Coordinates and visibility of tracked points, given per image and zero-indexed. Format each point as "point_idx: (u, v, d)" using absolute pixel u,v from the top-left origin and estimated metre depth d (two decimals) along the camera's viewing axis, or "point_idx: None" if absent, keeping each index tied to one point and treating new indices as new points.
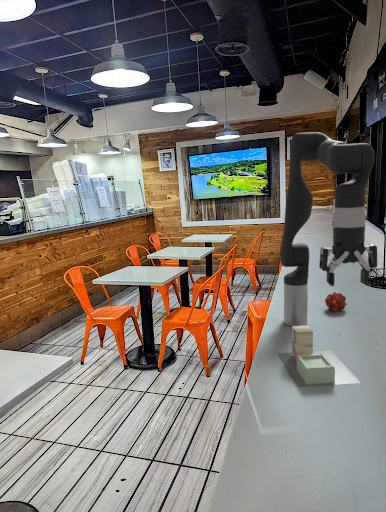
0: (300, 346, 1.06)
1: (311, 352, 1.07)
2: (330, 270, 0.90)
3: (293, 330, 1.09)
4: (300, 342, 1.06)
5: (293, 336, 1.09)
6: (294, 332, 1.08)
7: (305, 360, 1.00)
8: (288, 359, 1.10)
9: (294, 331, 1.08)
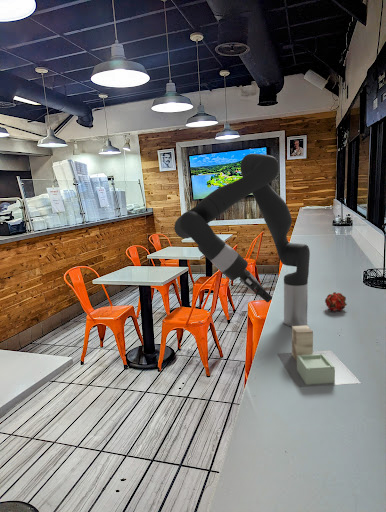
0: (300, 346, 1.06)
1: (311, 352, 1.07)
2: None
3: (293, 330, 1.09)
4: (300, 342, 1.06)
5: (293, 336, 1.09)
6: (294, 332, 1.08)
7: (305, 360, 1.00)
8: (288, 359, 1.10)
9: (294, 331, 1.08)
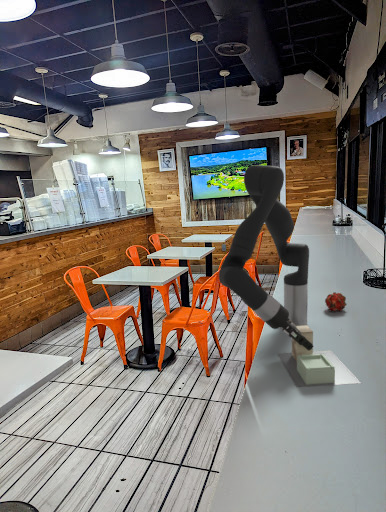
0: (300, 346, 1.06)
1: (311, 352, 1.07)
2: None
3: None
4: None
5: None
6: None
7: (305, 360, 1.00)
8: (288, 359, 1.10)
9: None
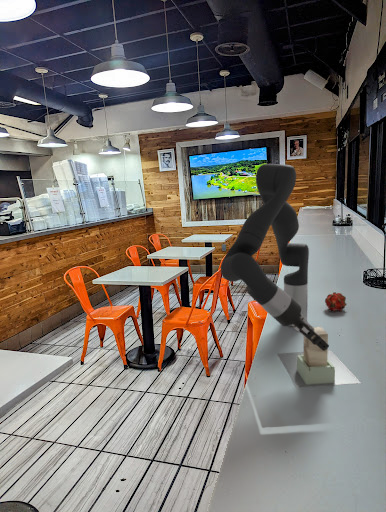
0: (314, 350, 0.95)
1: (326, 357, 0.95)
2: None
3: None
4: (313, 346, 0.95)
5: (305, 339, 0.98)
6: None
7: None
8: (288, 359, 1.10)
9: None
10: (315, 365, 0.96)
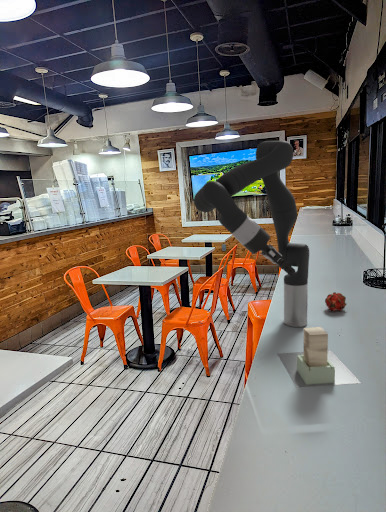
0: (314, 350, 0.95)
1: (326, 357, 0.95)
2: None
3: (305, 332, 0.97)
4: (313, 346, 0.95)
5: (305, 339, 0.98)
6: (307, 335, 0.96)
7: None
8: (288, 359, 1.10)
9: (306, 333, 0.96)
10: (315, 365, 0.96)
